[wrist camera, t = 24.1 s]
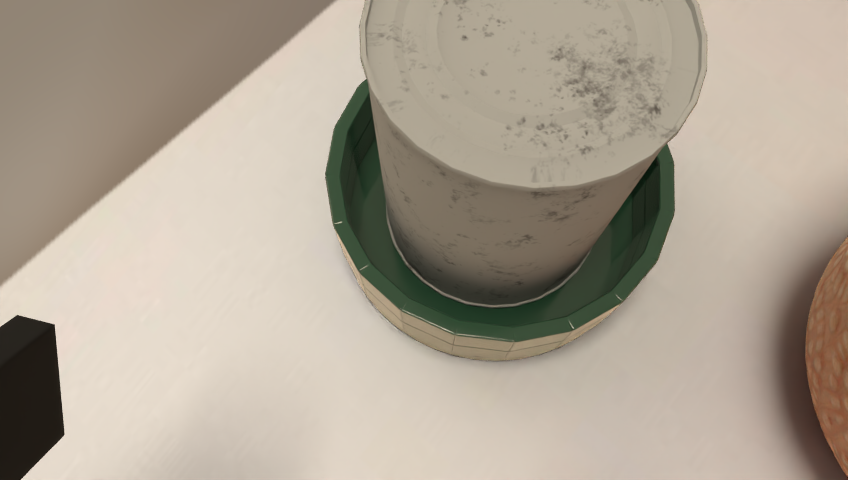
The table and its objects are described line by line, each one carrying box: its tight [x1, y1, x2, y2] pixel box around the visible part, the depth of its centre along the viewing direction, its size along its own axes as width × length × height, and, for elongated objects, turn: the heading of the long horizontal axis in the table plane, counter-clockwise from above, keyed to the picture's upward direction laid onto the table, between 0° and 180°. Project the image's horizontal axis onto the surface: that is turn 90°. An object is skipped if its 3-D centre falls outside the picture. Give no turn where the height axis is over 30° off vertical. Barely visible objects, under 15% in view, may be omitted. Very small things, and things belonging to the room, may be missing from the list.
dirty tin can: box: [359, 0, 707, 309], centre depth 24 cm, size 10×10×12 cm
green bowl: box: [325, 79, 675, 361], centre depth 28 cm, size 14×14×4 cm
